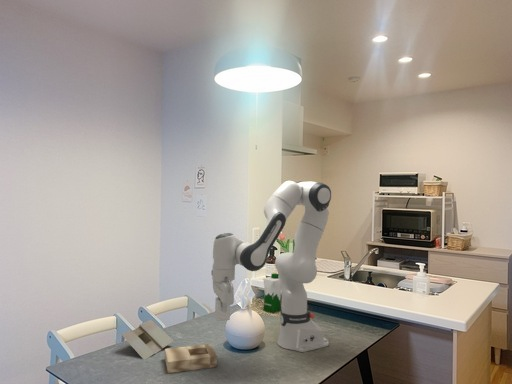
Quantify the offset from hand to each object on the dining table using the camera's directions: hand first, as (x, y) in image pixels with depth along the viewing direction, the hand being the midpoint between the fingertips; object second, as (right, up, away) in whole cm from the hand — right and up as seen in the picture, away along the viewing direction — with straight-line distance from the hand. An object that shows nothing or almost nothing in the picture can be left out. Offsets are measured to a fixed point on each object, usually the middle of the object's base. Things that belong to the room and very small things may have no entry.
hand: (222, 309), depth 149 cm
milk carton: (+22, -20, +61) cm, 68 cm away
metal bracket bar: (0, -4, 0) cm, 4 cm away
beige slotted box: (-32, -19, +8) cm, 38 cm away
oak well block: (-12, -19, -4) cm, 23 cm away
